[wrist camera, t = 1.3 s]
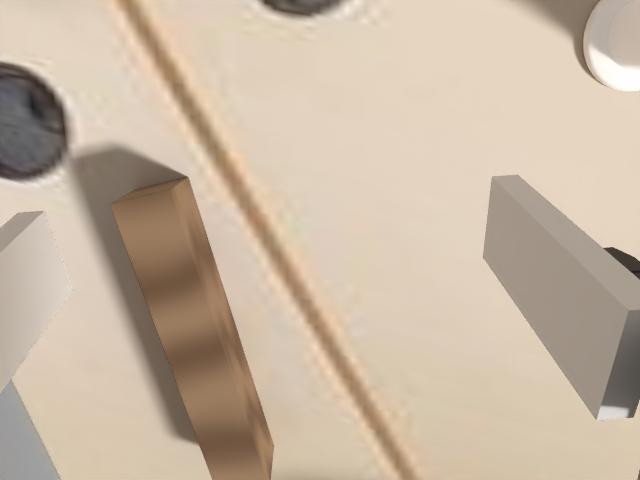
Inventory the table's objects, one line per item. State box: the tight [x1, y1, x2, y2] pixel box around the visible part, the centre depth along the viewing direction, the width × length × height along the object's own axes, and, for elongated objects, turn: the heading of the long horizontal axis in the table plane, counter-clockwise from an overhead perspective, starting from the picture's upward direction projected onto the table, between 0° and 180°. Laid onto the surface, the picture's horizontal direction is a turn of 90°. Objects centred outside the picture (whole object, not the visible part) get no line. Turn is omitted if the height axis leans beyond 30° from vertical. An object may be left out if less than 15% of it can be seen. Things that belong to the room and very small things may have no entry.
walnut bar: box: [110, 177, 274, 480], centre depth 37 cm, size 24×4×5 cm, turn 13°
